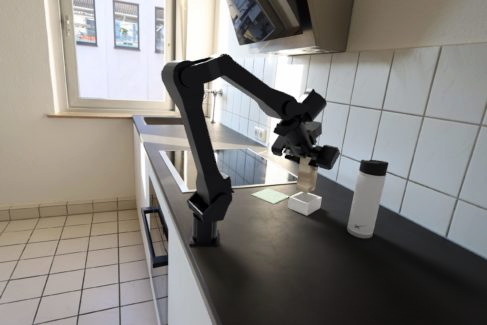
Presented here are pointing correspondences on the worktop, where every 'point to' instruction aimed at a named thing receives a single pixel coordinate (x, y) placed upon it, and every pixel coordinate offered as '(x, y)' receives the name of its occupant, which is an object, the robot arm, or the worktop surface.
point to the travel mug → (367, 198)
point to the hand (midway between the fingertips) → (310, 167)
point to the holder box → (304, 202)
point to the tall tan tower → (306, 176)
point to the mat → (270, 196)
